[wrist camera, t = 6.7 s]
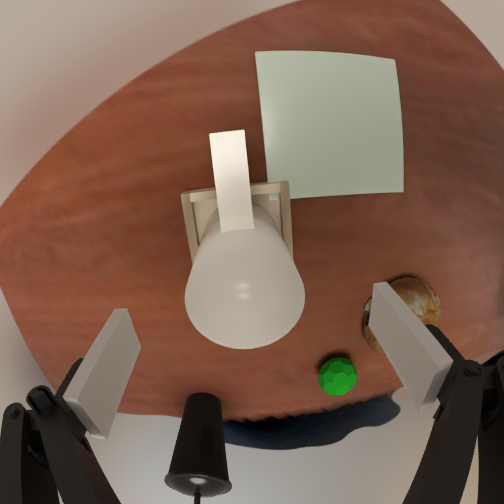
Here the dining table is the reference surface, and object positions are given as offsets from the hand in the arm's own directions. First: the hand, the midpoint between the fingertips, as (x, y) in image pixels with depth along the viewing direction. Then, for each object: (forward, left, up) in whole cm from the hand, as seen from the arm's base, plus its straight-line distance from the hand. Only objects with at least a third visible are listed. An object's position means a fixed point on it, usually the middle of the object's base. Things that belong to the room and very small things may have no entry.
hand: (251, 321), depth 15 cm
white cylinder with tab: (0, -3, -14) cm, 14 cm away
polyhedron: (-10, +19, -15) cm, 26 cm away
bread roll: (-18, +12, -15) cm, 26 cm away
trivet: (-10, -10, -14) cm, 20 cm away
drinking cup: (+8, +24, -15) cm, 29 cm away
